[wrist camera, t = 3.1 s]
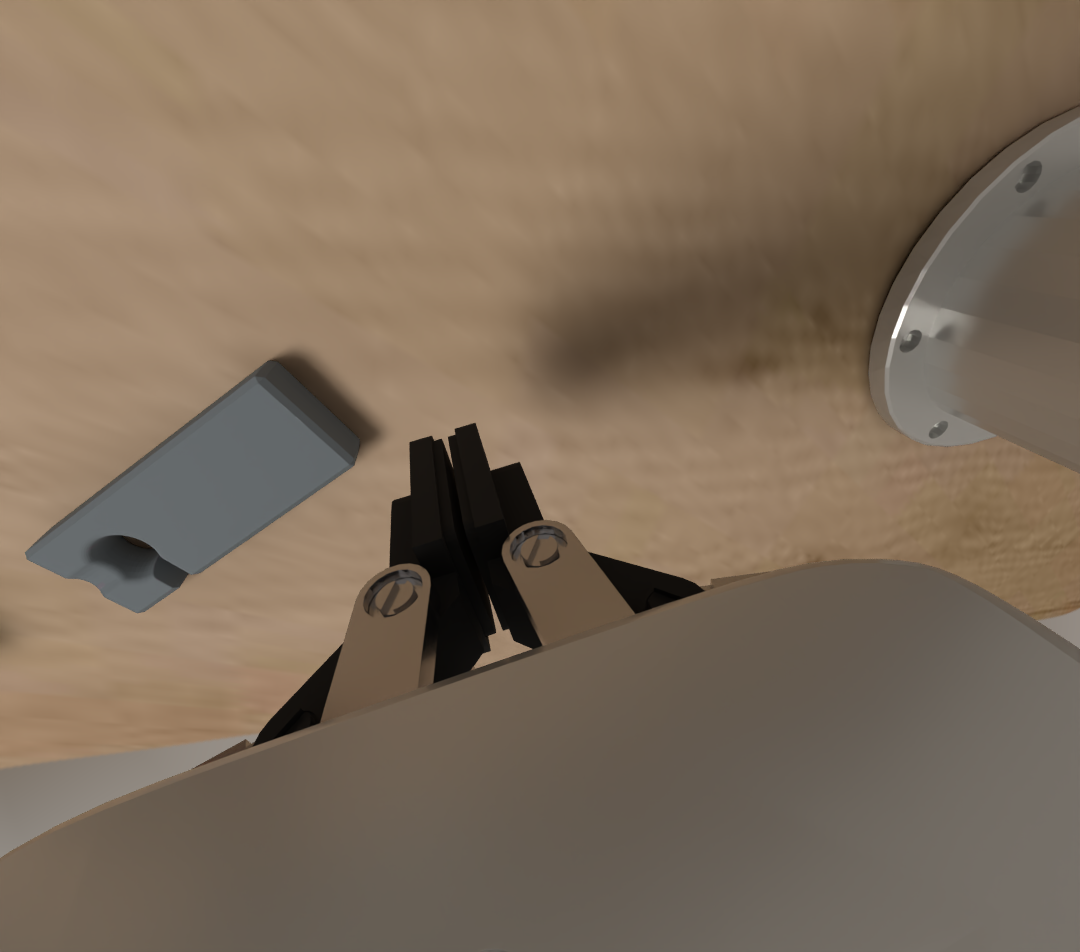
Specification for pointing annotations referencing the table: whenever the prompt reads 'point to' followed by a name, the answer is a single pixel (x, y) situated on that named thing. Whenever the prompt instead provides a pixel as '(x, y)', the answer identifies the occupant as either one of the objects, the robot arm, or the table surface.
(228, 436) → the bracket
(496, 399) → the table surface
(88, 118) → the table surface
